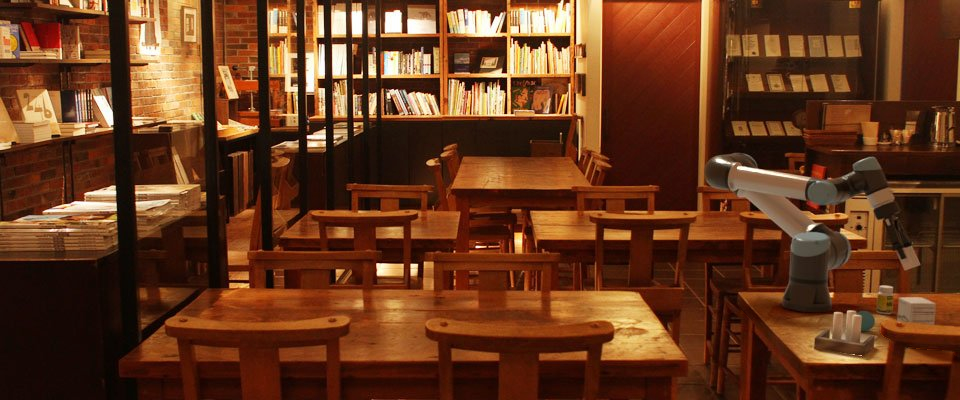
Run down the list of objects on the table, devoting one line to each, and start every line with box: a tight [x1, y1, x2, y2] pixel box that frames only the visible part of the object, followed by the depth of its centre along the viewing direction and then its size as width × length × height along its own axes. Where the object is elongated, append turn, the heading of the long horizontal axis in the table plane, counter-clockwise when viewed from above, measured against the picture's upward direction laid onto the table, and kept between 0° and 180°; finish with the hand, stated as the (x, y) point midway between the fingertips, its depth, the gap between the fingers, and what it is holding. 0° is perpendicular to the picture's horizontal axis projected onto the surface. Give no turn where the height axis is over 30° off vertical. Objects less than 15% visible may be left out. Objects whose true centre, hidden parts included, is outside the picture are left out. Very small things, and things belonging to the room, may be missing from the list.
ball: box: [856, 310, 876, 332], centre depth 301 cm, size 6×6×6 cm
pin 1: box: [831, 311, 844, 340], centre depth 286 cm, size 2×2×9 cm
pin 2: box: [851, 315, 862, 343], centre depth 283 cm, size 2×2×9 cm
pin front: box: [844, 310, 857, 342], centre depth 288 cm, size 2×2×9 cm
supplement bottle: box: [876, 285, 895, 315], centre depth 325 cm, size 5×5×8 cm
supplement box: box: [896, 296, 937, 326], centre depth 288 cm, size 7×7×13 cm
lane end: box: [813, 328, 876, 357], centre depth 283 cm, size 13×12×3 cm
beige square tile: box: [841, 330, 879, 343], centre depth 294 cm, size 10×10×1 cm
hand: (912, 267), depth 320 cm, fingers open, 13 cm apart
